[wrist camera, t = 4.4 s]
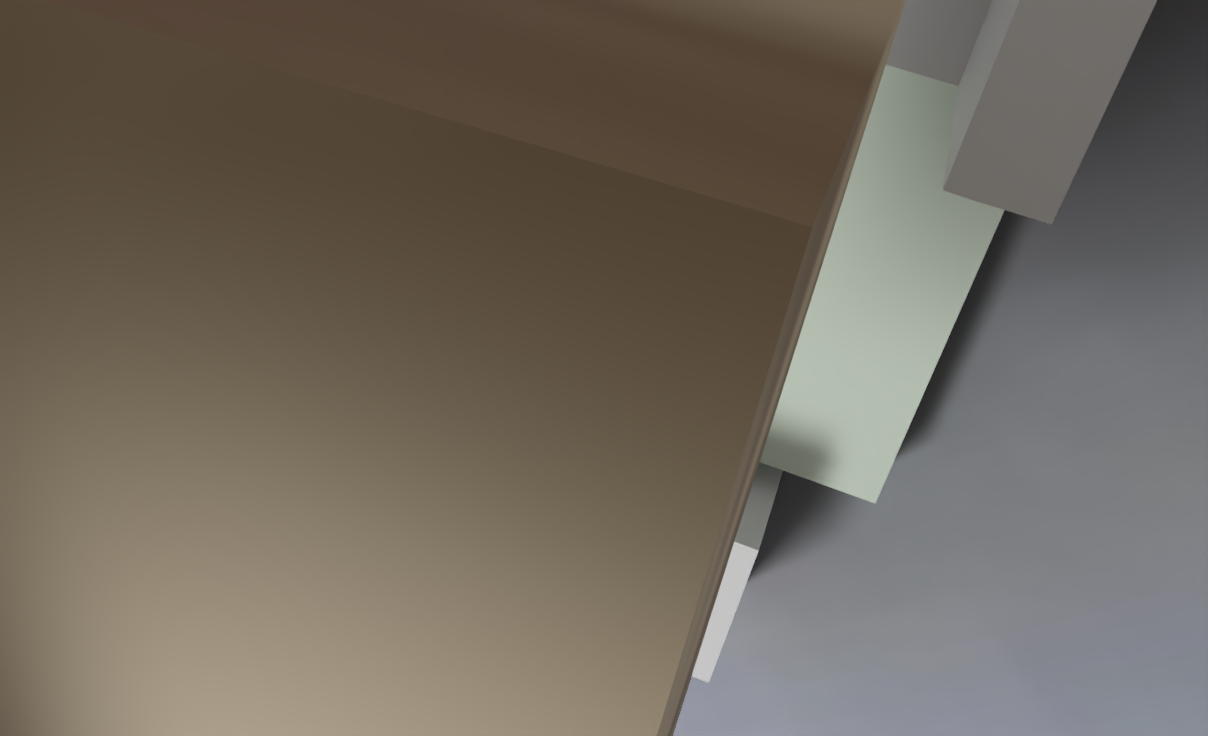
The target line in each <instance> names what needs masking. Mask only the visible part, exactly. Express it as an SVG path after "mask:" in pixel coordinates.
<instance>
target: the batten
mask: <svg viewBox="0 0 1208 736" xmlns="http://www.w3.org/2000/svg"><path fill="white" fill-rule="evenodd" d="M905 2H906V0H0V736H673V733H674V730H675V727H676V724H677V720H678V717H679V714H680V711H681V708H682V705H683V702H684V698H685V695H686V692H687V689H688V686H689V683H690V680H691V676H692V673H693V670H694V667H695V664H696V661H697V657H698V654H699V651H700V648H701V645H702V642H703V639H704V635H705V632H706V629H707V626H708V623H709V620H710V617H711V613H712V610H713V607H714V604H715V601H716V598H717V594H718V591H719V588H720V585H721V582H722V579H723V576H724V572H725V569H726V566H727V563H728V560H729V557H730V554H731V550H732V547H733V544H734V541H735V538H736V535H737V531H738V528H739V525H740V522H741V519H742V516H743V513H744V509H745V506H746V503H747V500H748V497H749V494H750V491H751V487H752V484H753V481H754V478H755V475H756V472H757V468H758V465H759V462H760V459H761V456H762V453H763V450H764V446H765V443H766V440H767V437H768V434H769V431H770V428H771V424H772V421H773V418H774V415H775V412H776V409H777V406H778V402H779V399H780V396H781V393H782V390H783V387H784V383H785V380H786V377H787V374H788V371H789V368H790V365H791V361H792V358H793V355H794V352H795V349H796V346H797V343H798V339H799V336H800V333H801V330H802V327H803V324H804V320H805V317H806V314H807V311H808V308H809V305H810V302H811V298H812V295H813V292H814V289H815V286H816V283H817V280H818V276H819V273H820V270H821V267H822V264H823V261H824V257H825V254H826V251H827V248H828V245H829V242H830V239H831V235H832V232H833V229H834V226H835V223H836V220H837V217H838V213H839V210H840V207H841V204H842V201H843V198H844V194H845V191H846V188H847V185H848V182H849V179H850V176H851V172H852V169H853V166H854V163H855V160H856V157H857V154H858V150H859V147H860V144H861V141H862V138H863V135H864V131H865V128H866V125H867V122H868V119H869V116H870V113H871V109H872V106H873V103H874V100H875V97H876V94H877V91H878V87H879V84H880V81H881V78H882V75H883V72H884V68H885V65H886V62H887V59H888V56H889V53H890V50H891V46H892V43H893V40H894V37H895V34H896V31H897V28H898V24H899V21H900V18H901V15H902V12H903V9H904V5H905Z"/></svg>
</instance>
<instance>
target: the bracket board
mask: <svg viewBox="0 0 1208 736" xmlns="http://www.w3.org/2000/svg"><path fill="white" fill-rule="evenodd" d="M1156 2H1157V0H906V2H905V5H904V9H903V12H902V15H901V18H900V21H899V24H898V28H897V31H896V34H895V37H894V40H893V43H892V46H891V50H890V53H889V56H888V59H887V62H886V65H885V68H884V72H883V75H882V78H881V81H880V84H879V87H878V91H877V94H876V97H875V100H874V103H873V106H872V109H871V113H870V116H869V119H868V122H867V125H866V128H865V131H864V135H863V138H862V141H861V144H860V147H859V150H858V154H857V157H856V160H855V163H854V166H853V169H852V172H851V176H850V179H849V182H848V185H847V188H846V191H845V194H844V198H843V201H842V204H841V207H840V210H839V213H838V217H837V220H836V223H835V226H834V229H833V232H832V235H831V239H830V242H829V245H828V248H827V251H826V254H825V257H824V261H823V264H822V267H821V270H820V273H819V276H818V280H817V283H816V286H815V289H814V292H813V295H812V298H811V302H810V305H809V308H808V311H807V314H806V317H805V320H804V324H803V327H802V330H801V333H800V336H799V339H798V343H797V346H796V349H795V352H794V355H793V358H792V361H791V365H790V368H789V371H788V374H787V377H786V380H785V383H784V387H783V390H782V393H781V396H780V399H779V402H778V406H777V409H776V412H775V415H774V418H773V421H772V424H771V428H770V431H769V434H768V437H767V440H766V443H765V446H764V450H763V453H762V456H761V459H760V462H759V465H758V468H757V472H756V475H755V478H754V481H753V484H752V487H751V491H750V494H749V497H748V500H747V503H746V506H745V509H744V513H743V516H742V519H741V522H740V525H739V528H738V531H737V535H736V538H735V541H734V544H733V547H732V550H731V554H730V557H729V560H728V563H727V566H726V569H725V572H724V576H723V579H722V582H721V585H720V588H719V591H718V594H717V598H716V601H715V604H714V607H713V610H712V613H711V617H710V620H709V623H708V626H707V629H706V632H705V635H704V639H703V642H702V645H701V648H700V651H699V654H698V657H697V661H696V664H695V667H694V670H693V673H692V676H693V677H695V678H698V679H700V680H703V681H706V682H708V683H709V681H710V678H711V675H712V673H713V670H714V667H715V665H716V662H717V660H718V657H719V654H720V652H721V649H722V646H723V644H724V641H725V638H726V636H727V633H728V631H729V628H730V625H731V623H732V620H733V617H734V615H735V612H736V609H737V607H738V604H739V602H740V599H741V596H742V594H743V591H744V588H745V586H746V583H747V580H748V578H749V575H750V573H751V570H752V567H753V565H754V562H755V559H756V557H757V554H758V551H759V548H760V545H761V542H762V538H763V535H764V532H765V529H766V525H767V522H768V519H769V515H770V512H771V509H772V506H773V502H774V499H775V496H776V493H777V489H778V486H779V483H780V479H781V476H782V473H783V471H786V472H789V473H791V474H794V475H797V476H800V477H803V478H805V479H808V480H811V481H814V482H817V483H819V484H822V485H825V486H828V487H830V488H833V489H836V490H839V491H842V492H844V493H847V494H850V495H853V496H856V497H858V498H861V499H864V500H867V501H870V502H872V503H876V501H877V498H878V496H879V494H880V492H881V489H882V487H883V485H884V483H885V480H886V478H887V476H888V474H889V471H890V469H891V467H892V464H893V462H894V460H895V458H896V455H897V453H898V451H899V449H900V446H901V444H902V442H903V440H904V437H905V435H906V433H907V430H908V428H909V426H910V424H911V421H912V419H913V417H914V415H915V412H916V410H917V408H918V406H919V403H920V401H921V399H922V396H923V394H924V392H925V390H926V387H927V385H928V383H929V381H930V378H931V376H932V374H933V371H934V369H935V367H936V365H937V362H938V360H939V358H940V356H941V353H942V351H943V349H944V347H945V344H946V342H947V340H948V337H949V335H950V333H951V331H952V328H953V326H954V324H955V322H956V319H957V317H958V315H959V313H960V310H961V308H962V306H963V303H964V301H965V299H966V297H967V294H968V292H969V290H970V288H971V285H972V283H973V281H974V279H975V276H976V274H977V272H978V269H979V267H980V265H981V263H982V260H983V258H984V256H985V254H986V251H987V249H988V247H989V244H990V242H991V240H992V238H993V235H994V233H995V231H996V229H997V226H998V224H999V222H1000V220H1001V217H1002V215H1003V213H1004V210H1006V211H1009V212H1013V213H1016V214H1019V215H1022V216H1025V217H1029V218H1032V219H1035V220H1038V221H1041V222H1044V223H1048V224H1051V225H1052V223H1053V221H1054V219H1055V217H1056V215H1057V213H1058V210H1059V208H1060V206H1061V204H1062V202H1063V200H1064V198H1065V196H1066V193H1067V191H1068V189H1069V187H1070V185H1071V183H1072V181H1073V179H1074V176H1075V174H1076V172H1077V170H1078V168H1079V166H1080V164H1081V162H1082V159H1083V157H1084V155H1085V153H1086V151H1087V149H1088V147H1089V144H1090V142H1091V140H1092V138H1093V136H1094V134H1095V132H1096V130H1097V127H1098V125H1099V123H1100V121H1101V119H1102V117H1103V115H1104V113H1105V110H1106V108H1107V106H1108V104H1109V102H1110V100H1111V98H1112V95H1113V93H1114V91H1115V89H1116V87H1117V85H1118V83H1119V81H1120V78H1121V76H1122V74H1123V72H1124V70H1125V68H1126V66H1127V64H1128V61H1129V59H1130V57H1131V55H1132V53H1133V51H1134V49H1135V47H1136V44H1137V42H1138V40H1139V38H1140V36H1141V34H1142V32H1143V29H1144V27H1145V25H1146V23H1147V21H1148V19H1149V17H1150V15H1151V12H1152V10H1153V8H1154V6H1155V4H1156Z"/></svg>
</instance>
